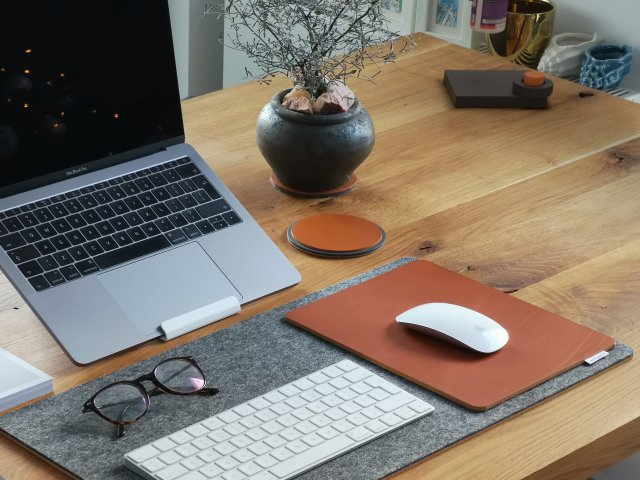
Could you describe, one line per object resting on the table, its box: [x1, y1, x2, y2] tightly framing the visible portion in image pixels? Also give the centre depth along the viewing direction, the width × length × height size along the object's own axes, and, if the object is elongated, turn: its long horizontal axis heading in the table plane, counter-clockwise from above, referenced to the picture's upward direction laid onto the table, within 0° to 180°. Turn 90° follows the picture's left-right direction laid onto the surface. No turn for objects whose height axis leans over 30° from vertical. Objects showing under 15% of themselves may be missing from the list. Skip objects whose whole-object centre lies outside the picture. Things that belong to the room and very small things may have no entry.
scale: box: [443, 69, 555, 109], centre depth 174 cm, size 15×13×4 cm
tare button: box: [523, 70, 545, 86], centre depth 170 cm, size 3×3×2 cm
